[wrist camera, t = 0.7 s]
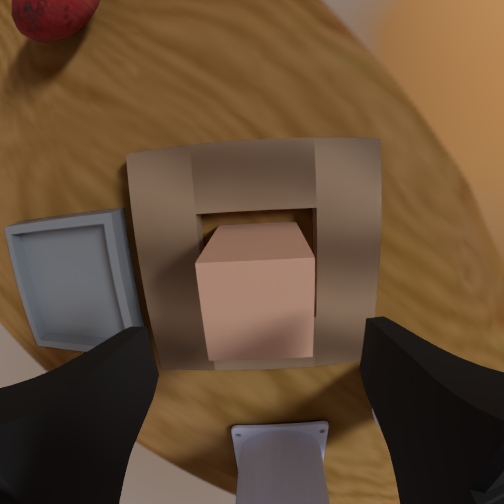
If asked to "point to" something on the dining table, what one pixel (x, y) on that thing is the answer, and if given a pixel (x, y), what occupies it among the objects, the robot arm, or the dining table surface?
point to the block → (257, 292)
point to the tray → (75, 277)
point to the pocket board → (249, 199)
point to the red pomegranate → (51, 17)
